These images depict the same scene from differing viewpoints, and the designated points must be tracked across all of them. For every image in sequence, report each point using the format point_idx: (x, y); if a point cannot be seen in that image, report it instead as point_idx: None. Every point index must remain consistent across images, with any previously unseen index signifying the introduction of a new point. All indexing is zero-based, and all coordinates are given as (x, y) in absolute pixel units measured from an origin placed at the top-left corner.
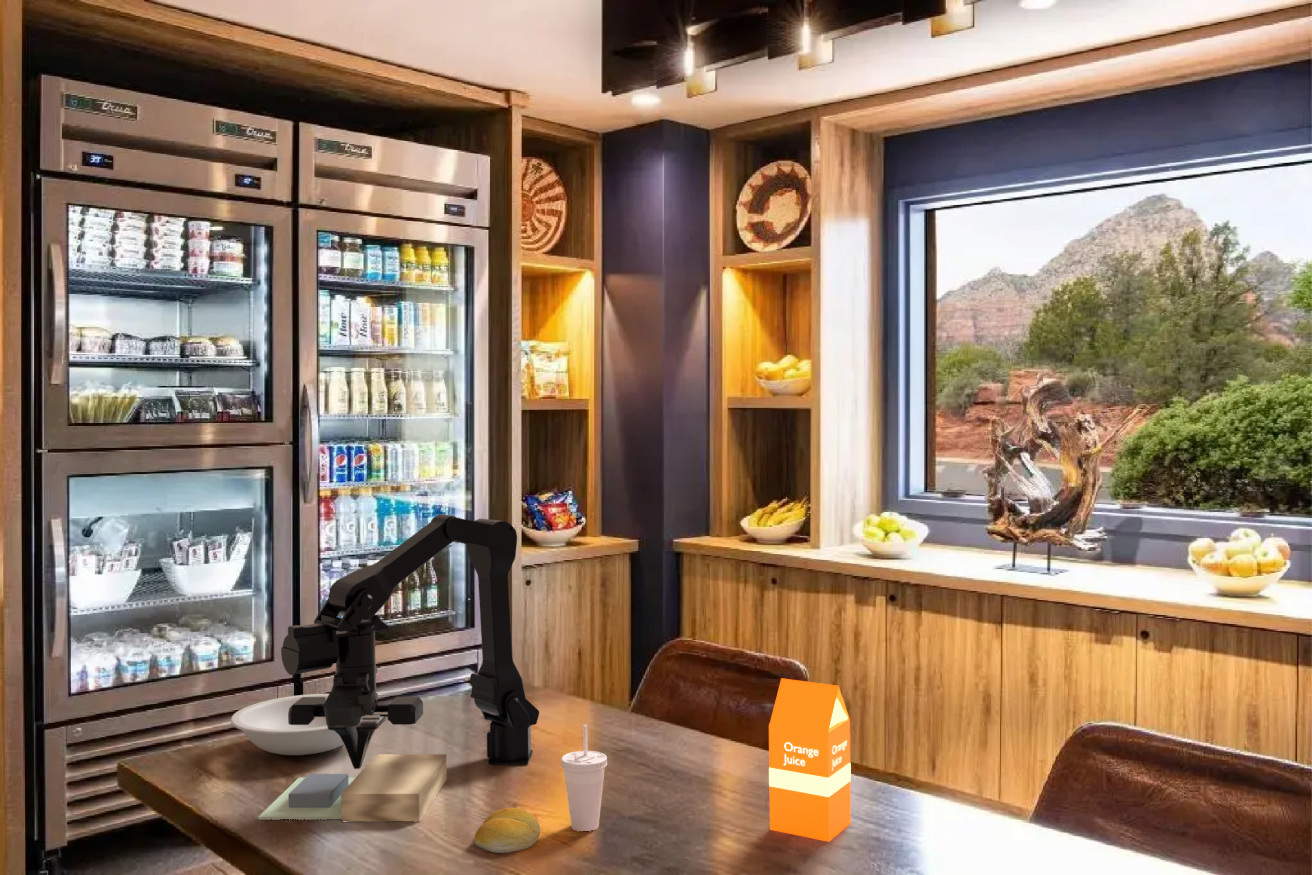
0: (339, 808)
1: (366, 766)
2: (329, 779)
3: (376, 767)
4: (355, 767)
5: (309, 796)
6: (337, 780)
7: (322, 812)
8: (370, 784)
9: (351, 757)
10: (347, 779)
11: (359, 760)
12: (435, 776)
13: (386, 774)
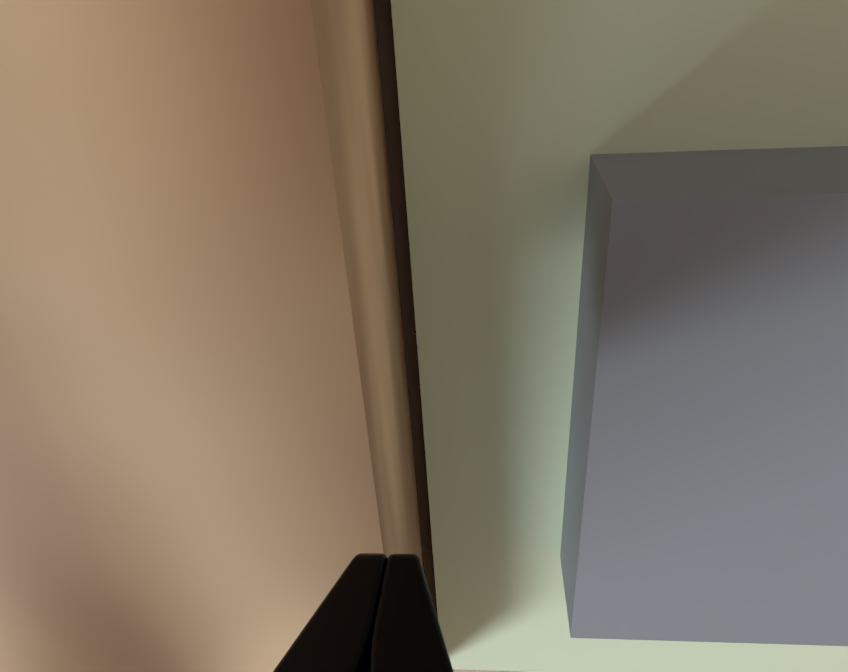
0: (490, 136)
1: None
2: (698, 546)
3: (290, 640)
4: (396, 560)
5: (841, 181)
6: (621, 526)
7: (631, 9)
8: (67, 208)
9: (425, 667)
10: (567, 591)
11: (321, 626)
12: None
13: (91, 496)
